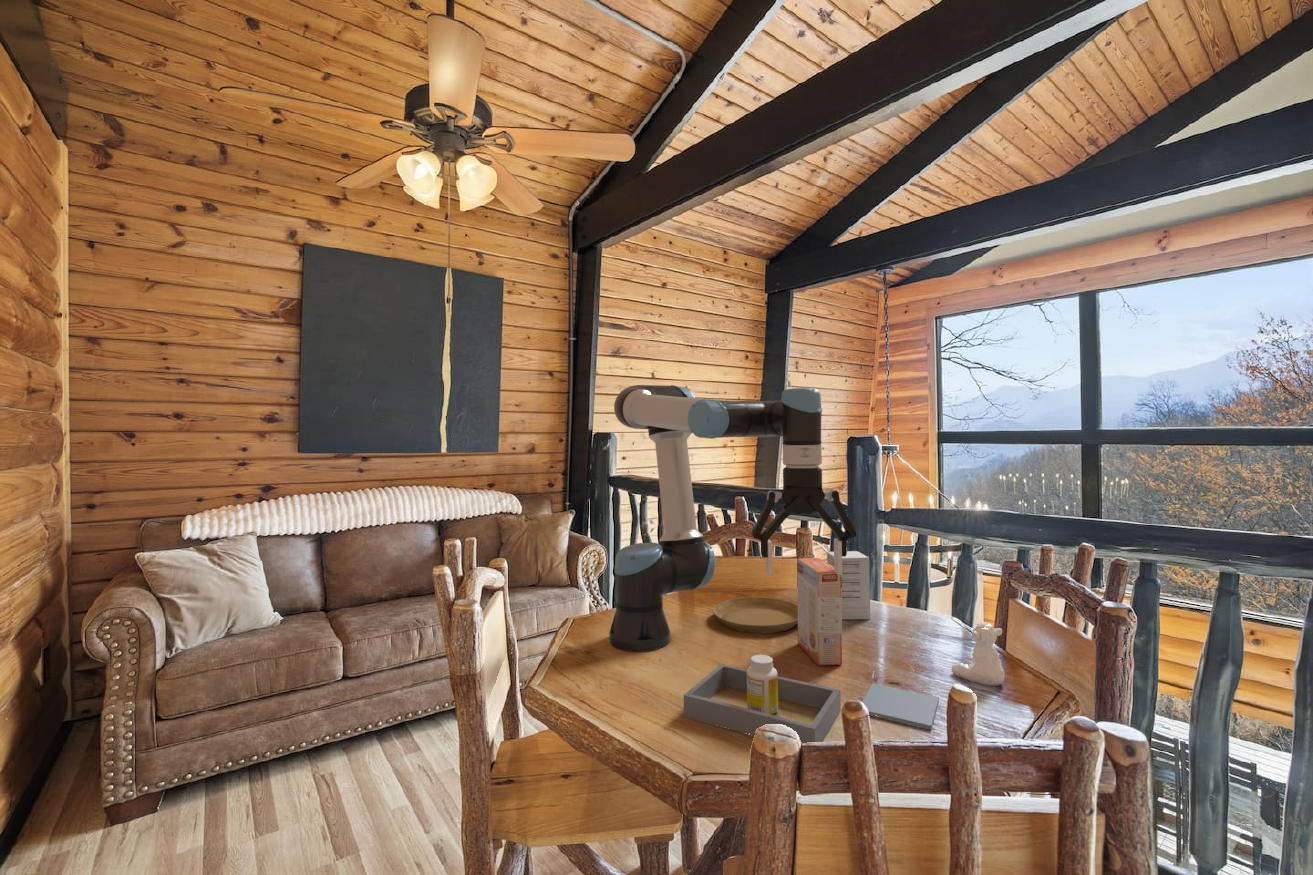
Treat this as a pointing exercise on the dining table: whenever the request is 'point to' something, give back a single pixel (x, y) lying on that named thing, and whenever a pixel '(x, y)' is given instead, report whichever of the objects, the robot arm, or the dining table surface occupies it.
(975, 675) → the white creature statuette
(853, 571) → the supplement box
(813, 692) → the bin
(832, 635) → the cracker box
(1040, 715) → the dining table surface
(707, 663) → the dining table surface
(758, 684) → the supplement bottle
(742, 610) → the plant saucer
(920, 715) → the mat
